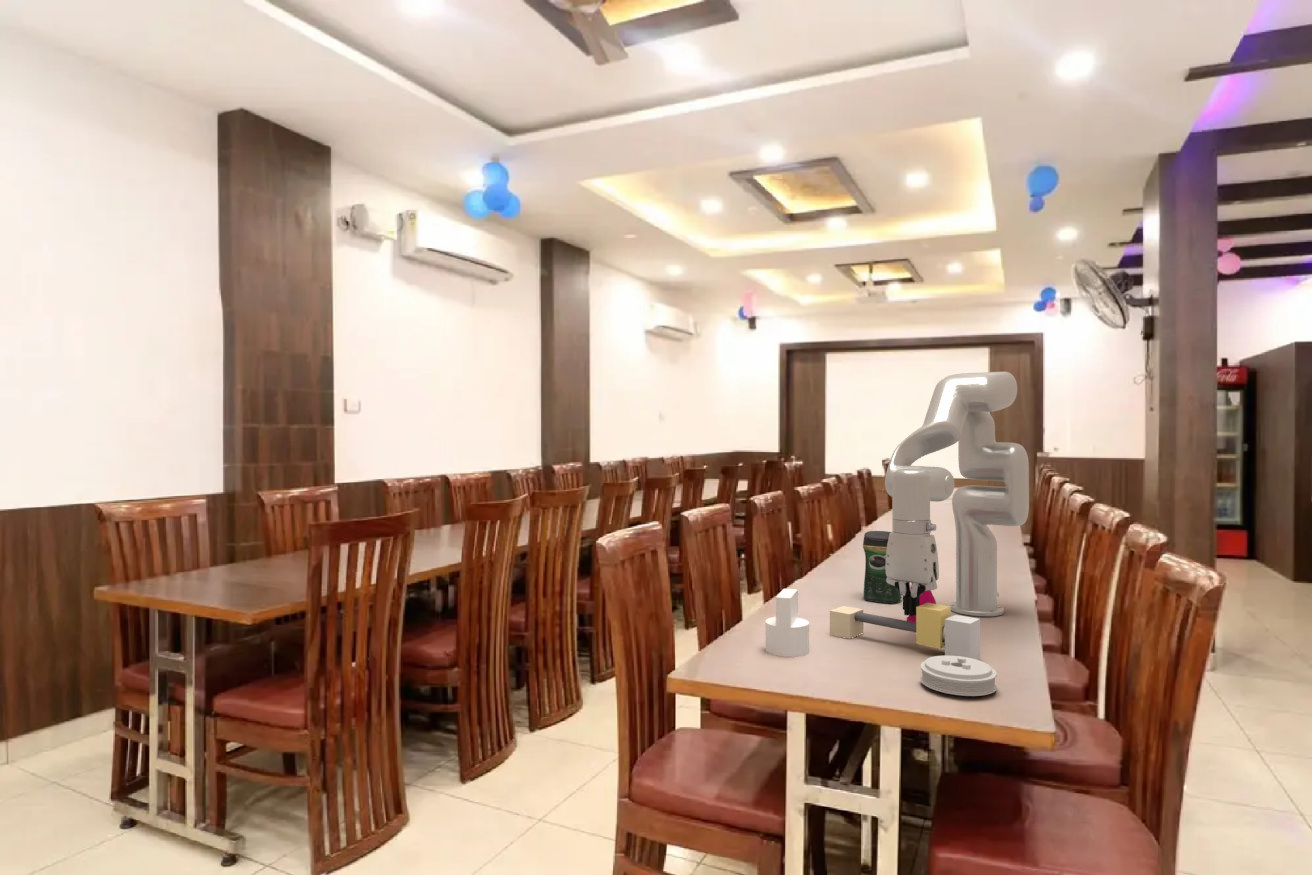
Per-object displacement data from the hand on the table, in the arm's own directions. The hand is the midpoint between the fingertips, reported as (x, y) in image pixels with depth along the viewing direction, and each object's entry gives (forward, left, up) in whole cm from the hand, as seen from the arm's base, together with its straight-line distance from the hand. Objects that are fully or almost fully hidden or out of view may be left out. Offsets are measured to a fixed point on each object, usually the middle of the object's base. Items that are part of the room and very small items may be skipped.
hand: (911, 614), depth 159 cm
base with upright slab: (+19, -18, -7) cm, 27 cm away
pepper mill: (-18, -6, -7) cm, 20 cm away
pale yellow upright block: (0, +5, -5) cm, 7 cm away
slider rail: (0, -2, -7) cm, 7 cm away
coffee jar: (-36, -25, -7) cm, 45 cm away
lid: (+17, +17, -8) cm, 25 cm away
